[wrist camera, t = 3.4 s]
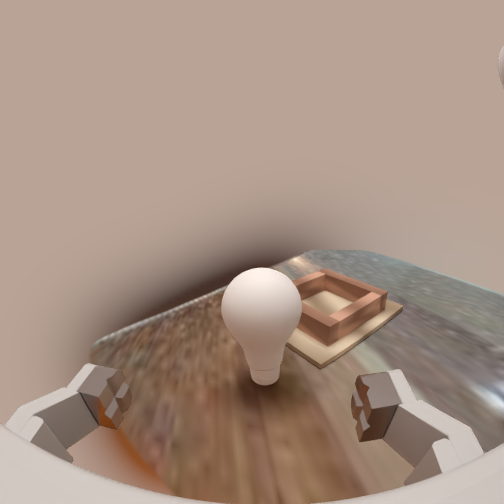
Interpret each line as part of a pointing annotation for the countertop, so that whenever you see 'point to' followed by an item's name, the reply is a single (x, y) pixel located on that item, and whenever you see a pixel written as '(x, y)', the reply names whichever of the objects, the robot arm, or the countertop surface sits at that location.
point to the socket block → (337, 315)
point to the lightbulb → (262, 318)
